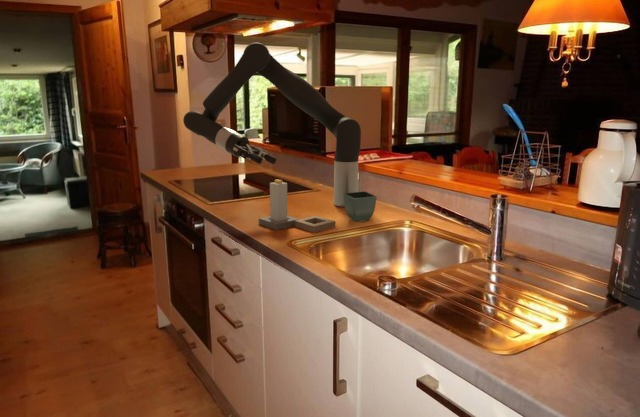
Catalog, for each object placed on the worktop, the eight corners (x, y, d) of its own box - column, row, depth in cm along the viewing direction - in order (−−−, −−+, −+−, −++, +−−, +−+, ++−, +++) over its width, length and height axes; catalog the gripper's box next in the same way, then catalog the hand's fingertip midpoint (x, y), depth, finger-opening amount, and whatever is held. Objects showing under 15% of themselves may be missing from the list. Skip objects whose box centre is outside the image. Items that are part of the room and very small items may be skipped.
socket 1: (281, 219, 167) (281, 213, 167) (299, 224, 161) (299, 218, 160) (258, 224, 161) (258, 218, 161) (276, 230, 154) (276, 224, 154)
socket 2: (315, 221, 165) (315, 215, 165) (335, 227, 158) (335, 221, 158) (294, 226, 159) (294, 220, 158) (314, 232, 152) (314, 226, 152)
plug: (280, 222, 164) (279, 178, 160) (287, 224, 161) (287, 180, 157) (270, 224, 161) (269, 179, 157) (278, 226, 158) (277, 181, 155)
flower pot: (353, 224, 162) (353, 198, 159) (342, 218, 169) (342, 193, 167) (376, 222, 165) (377, 196, 163) (364, 215, 173) (365, 191, 170)
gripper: (222, 130, 160) (260, 150, 154) (247, 133, 172) (283, 151, 166) (215, 151, 161) (252, 171, 156) (240, 152, 174) (275, 171, 168)
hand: (268, 161), depth 161 cm, fingers open, 8 cm apart
